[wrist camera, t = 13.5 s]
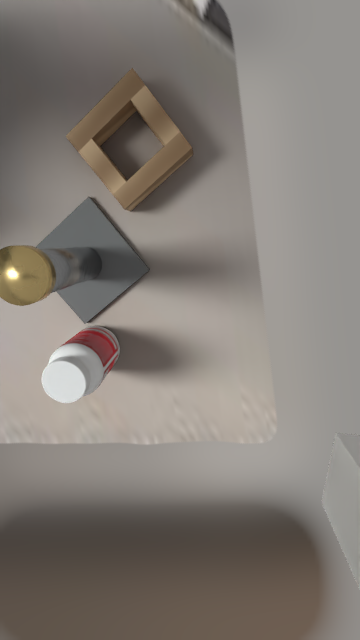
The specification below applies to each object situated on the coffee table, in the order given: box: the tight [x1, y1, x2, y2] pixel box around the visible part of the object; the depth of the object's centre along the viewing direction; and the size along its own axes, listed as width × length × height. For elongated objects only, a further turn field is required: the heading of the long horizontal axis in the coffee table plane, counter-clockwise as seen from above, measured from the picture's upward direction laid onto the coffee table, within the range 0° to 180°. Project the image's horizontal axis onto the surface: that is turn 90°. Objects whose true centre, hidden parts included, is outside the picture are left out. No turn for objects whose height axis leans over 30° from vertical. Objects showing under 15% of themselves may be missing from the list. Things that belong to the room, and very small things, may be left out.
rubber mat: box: [36, 197, 150, 323], centre depth 41 cm, size 11×11×1 cm
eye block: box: [66, 68, 193, 211], centre depth 36 cm, size 10×10×3 cm
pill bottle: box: [42, 326, 120, 403], centre depth 38 cm, size 6×6×11 cm
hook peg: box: [0, 246, 102, 306], centre depth 33 cm, size 5×5×16 cm
